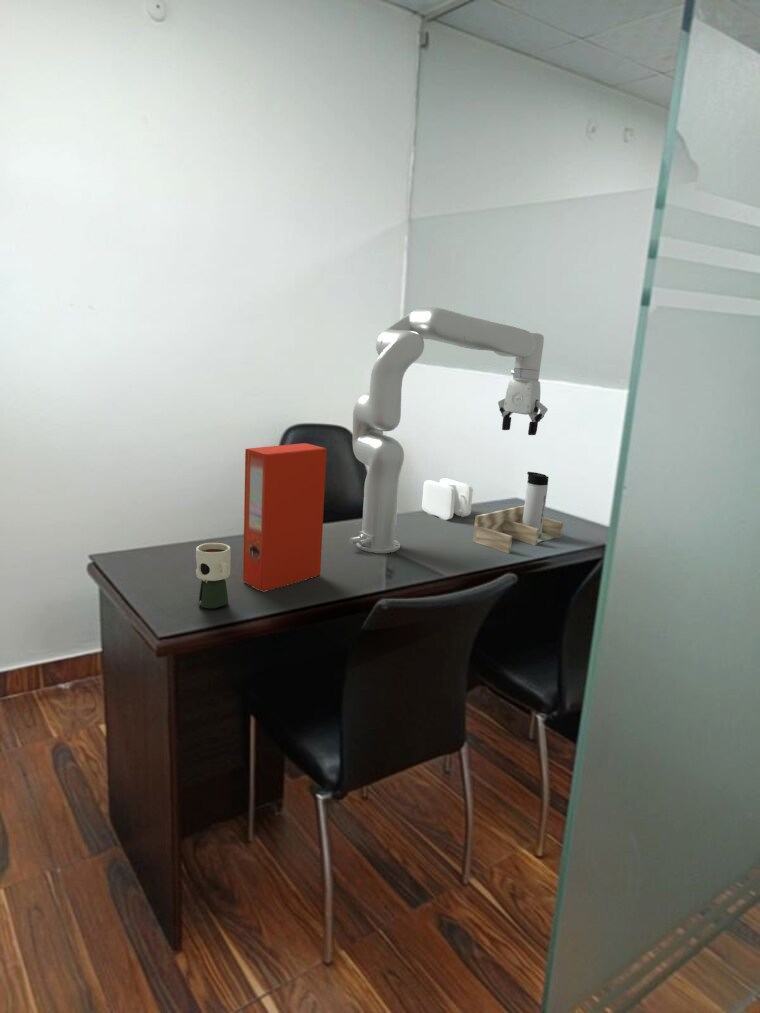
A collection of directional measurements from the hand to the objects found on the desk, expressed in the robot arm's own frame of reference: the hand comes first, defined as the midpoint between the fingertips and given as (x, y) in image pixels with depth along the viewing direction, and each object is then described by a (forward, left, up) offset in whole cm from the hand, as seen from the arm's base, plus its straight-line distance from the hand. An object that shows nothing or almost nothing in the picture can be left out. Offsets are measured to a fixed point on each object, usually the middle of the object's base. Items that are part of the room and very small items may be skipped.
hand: (518, 432), depth 203 cm
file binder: (-82, +6, -32) cm, 88 cm away
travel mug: (+4, -6, -32) cm, 33 cm away
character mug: (-103, +2, -32) cm, 108 cm away
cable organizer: (-1, +25, -32) cm, 41 cm away
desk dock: (-3, -7, -32) cm, 33 cm away
